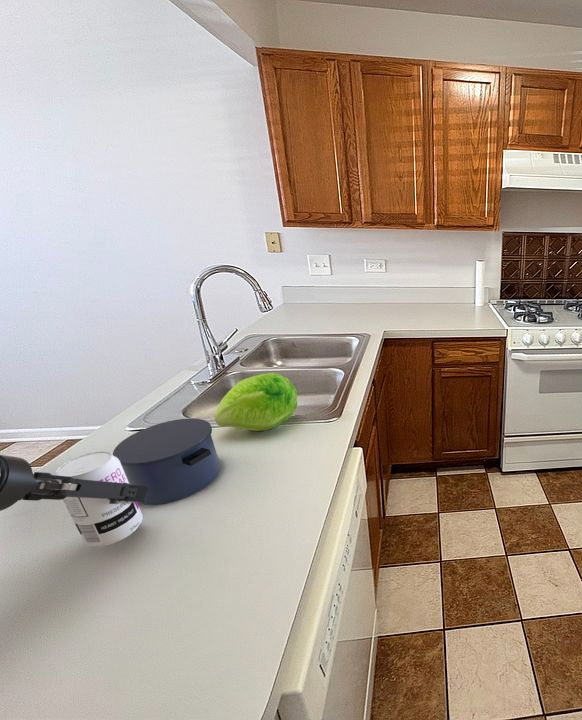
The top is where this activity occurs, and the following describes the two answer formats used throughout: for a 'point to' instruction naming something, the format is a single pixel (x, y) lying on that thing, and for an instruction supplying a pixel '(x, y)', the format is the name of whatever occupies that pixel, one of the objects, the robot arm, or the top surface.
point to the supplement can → (100, 500)
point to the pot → (170, 459)
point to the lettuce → (257, 403)
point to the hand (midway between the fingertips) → (120, 493)
